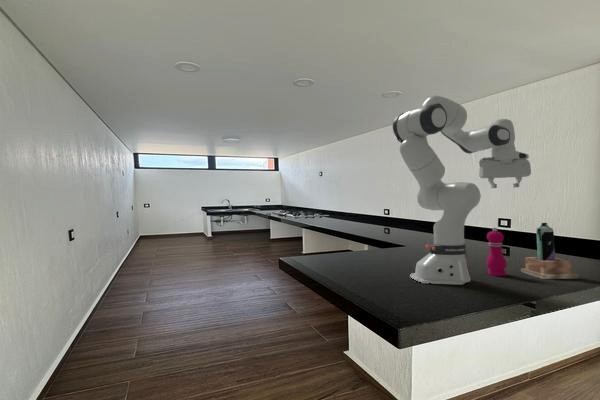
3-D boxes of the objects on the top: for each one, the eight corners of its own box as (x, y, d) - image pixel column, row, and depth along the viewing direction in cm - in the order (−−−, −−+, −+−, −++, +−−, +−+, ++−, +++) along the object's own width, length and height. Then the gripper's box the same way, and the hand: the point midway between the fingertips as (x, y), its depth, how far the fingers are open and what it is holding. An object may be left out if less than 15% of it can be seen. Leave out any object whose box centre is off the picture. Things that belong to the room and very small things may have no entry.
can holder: (543, 278, 115) (542, 262, 115) (520, 271, 128) (520, 256, 128) (578, 278, 114) (577, 261, 114) (552, 271, 127) (551, 256, 127)
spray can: (551, 273, 118) (549, 223, 118) (535, 270, 122) (533, 222, 123) (558, 271, 120) (555, 222, 121) (542, 269, 125) (540, 222, 126)
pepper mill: (501, 272, 128) (498, 226, 128) (511, 276, 121) (508, 227, 121) (483, 272, 128) (481, 227, 129) (492, 276, 121) (490, 228, 122)
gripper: (483, 156, 128) (484, 188, 128) (532, 154, 126) (534, 186, 126) (475, 158, 134) (477, 189, 134) (522, 157, 133) (524, 187, 132)
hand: (505, 187), depth 130 cm, fingers open, 8 cm apart
